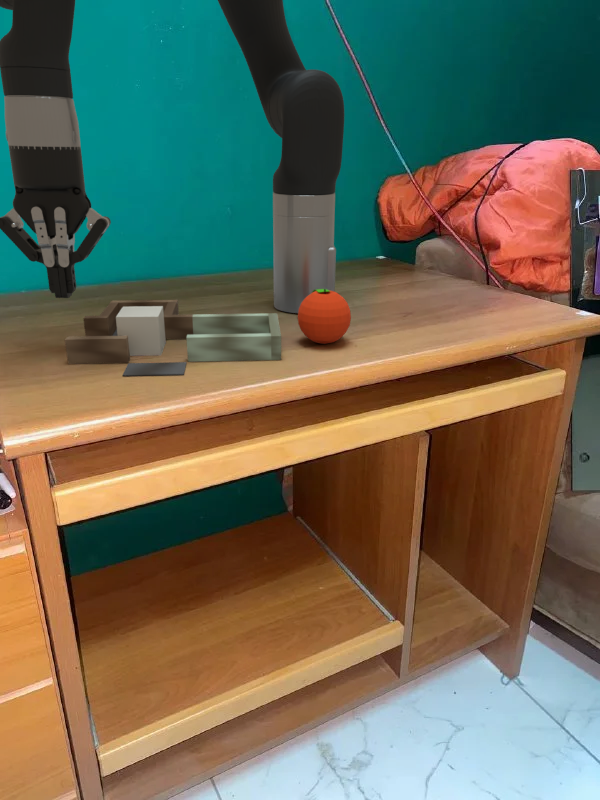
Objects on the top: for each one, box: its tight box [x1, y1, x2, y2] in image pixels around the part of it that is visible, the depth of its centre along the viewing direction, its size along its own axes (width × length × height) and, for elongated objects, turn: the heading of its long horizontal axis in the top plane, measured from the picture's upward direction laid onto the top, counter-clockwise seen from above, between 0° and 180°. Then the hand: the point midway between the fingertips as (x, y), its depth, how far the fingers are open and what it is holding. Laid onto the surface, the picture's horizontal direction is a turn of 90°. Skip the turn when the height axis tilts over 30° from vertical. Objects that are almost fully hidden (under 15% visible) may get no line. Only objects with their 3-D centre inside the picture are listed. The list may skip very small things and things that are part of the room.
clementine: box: [297, 289, 352, 345], centre depth 82 cm, size 8×7×7 cm
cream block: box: [116, 306, 167, 357], centre depth 79 cm, size 5×5×5 cm
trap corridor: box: [64, 299, 282, 377], centre depth 81 cm, size 25×23×3 cm
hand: (63, 296), depth 77 cm, fingers closed
